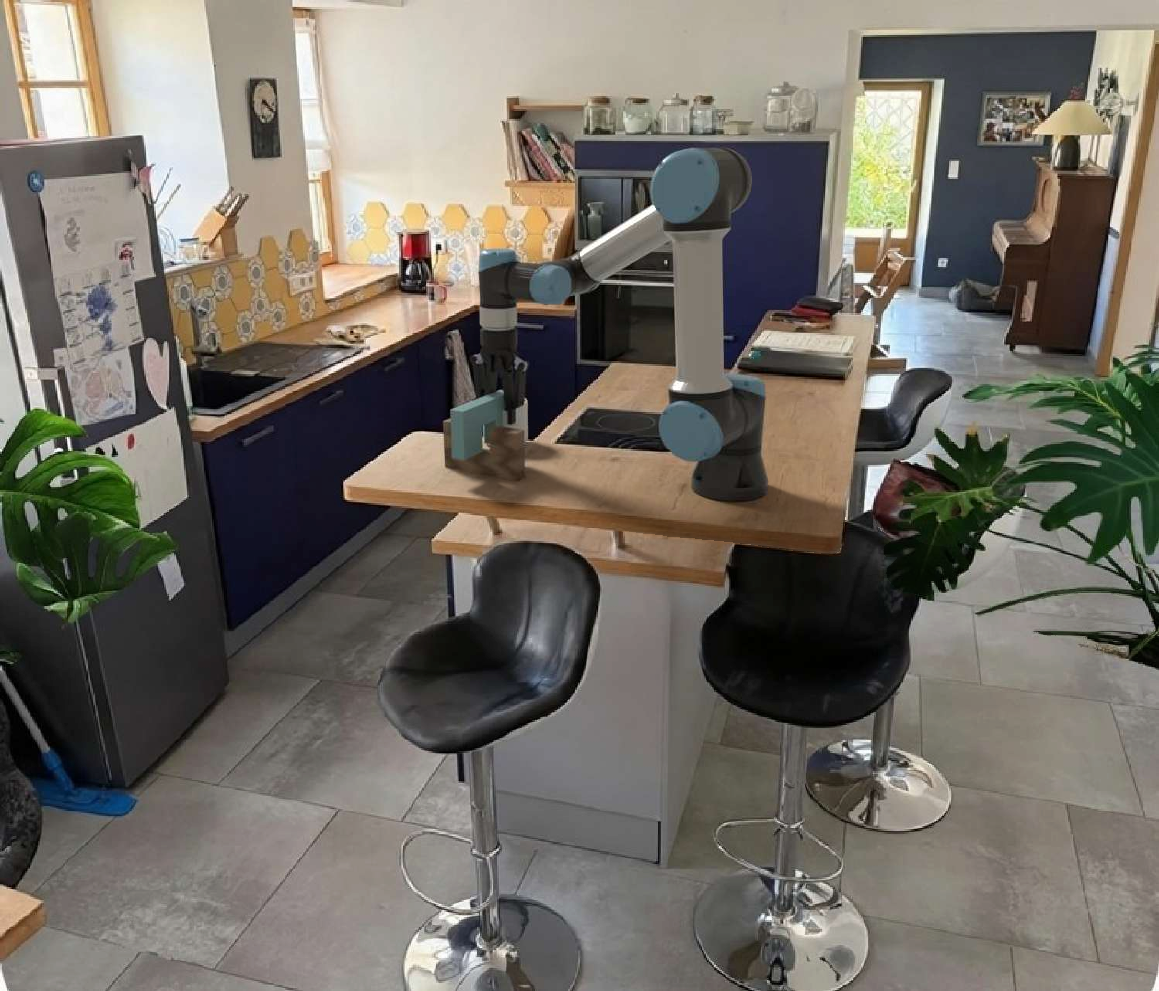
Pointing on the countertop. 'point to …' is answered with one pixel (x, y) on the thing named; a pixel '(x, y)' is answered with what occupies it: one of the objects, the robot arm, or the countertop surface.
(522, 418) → the cup
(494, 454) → the u-notched wood block
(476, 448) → the teal arch piece
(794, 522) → the countertop surface
